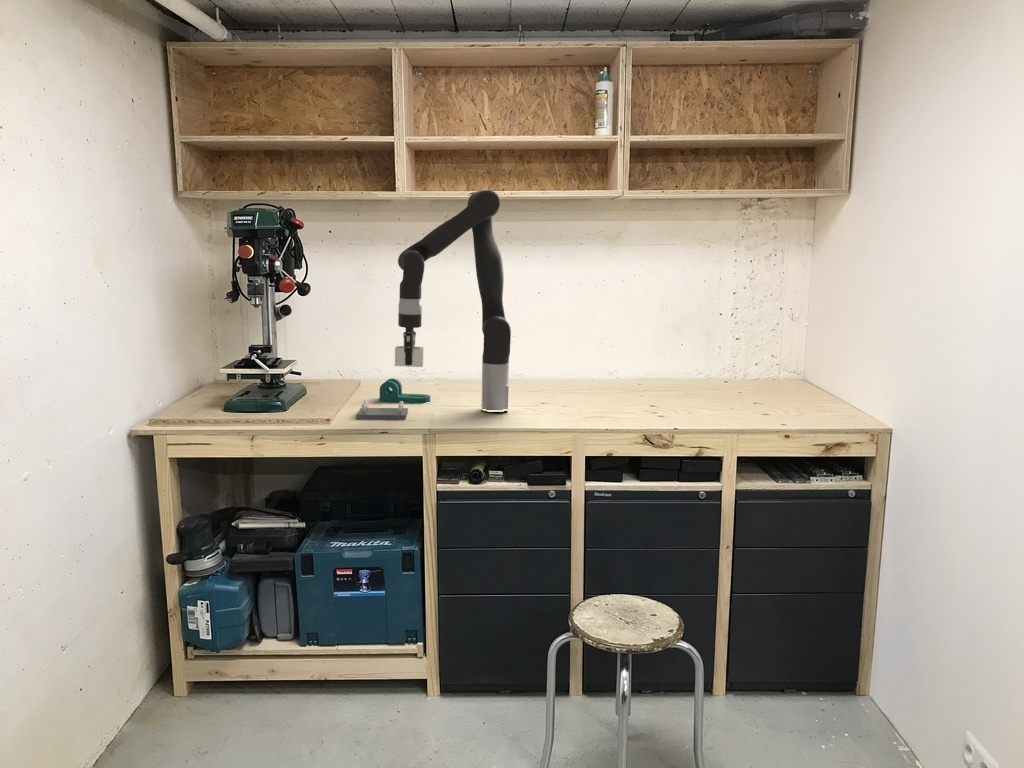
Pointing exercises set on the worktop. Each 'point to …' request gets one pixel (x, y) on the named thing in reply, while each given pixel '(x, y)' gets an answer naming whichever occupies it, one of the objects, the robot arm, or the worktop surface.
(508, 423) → the worktop surface
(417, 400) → the bracket
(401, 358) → the block
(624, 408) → the worktop surface
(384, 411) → the grey wall plate
